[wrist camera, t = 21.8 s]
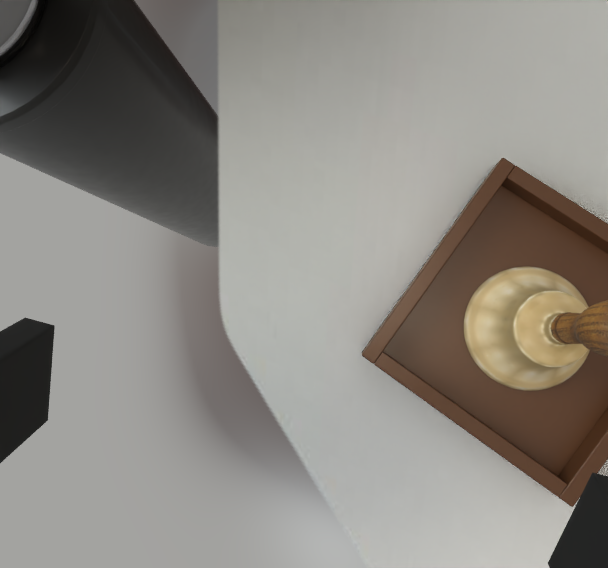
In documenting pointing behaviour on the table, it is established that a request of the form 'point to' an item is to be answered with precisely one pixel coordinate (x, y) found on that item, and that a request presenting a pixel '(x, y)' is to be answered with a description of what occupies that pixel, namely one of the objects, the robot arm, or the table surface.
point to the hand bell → (532, 328)
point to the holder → (451, 342)
